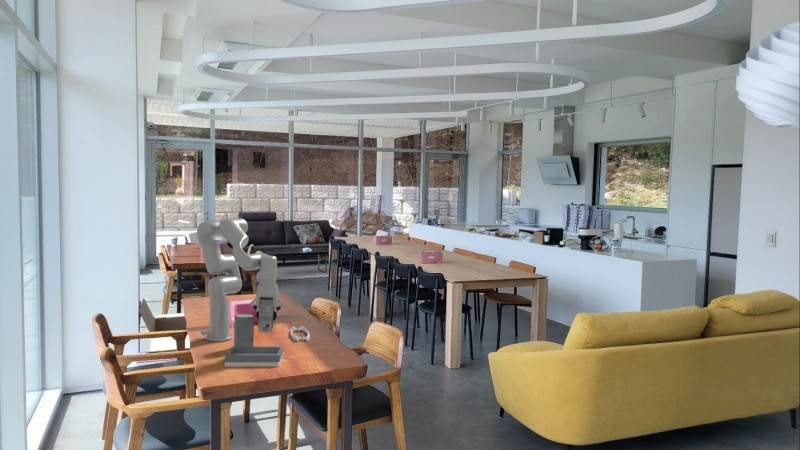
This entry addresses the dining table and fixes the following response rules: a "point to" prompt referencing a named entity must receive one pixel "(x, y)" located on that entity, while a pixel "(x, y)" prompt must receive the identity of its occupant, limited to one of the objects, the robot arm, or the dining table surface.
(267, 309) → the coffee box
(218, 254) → the robot arm
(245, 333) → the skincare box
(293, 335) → the grey bumpy ring
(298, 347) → the dining table surface
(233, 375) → the dining table surface
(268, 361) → the grey tray
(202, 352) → the dining table surface
